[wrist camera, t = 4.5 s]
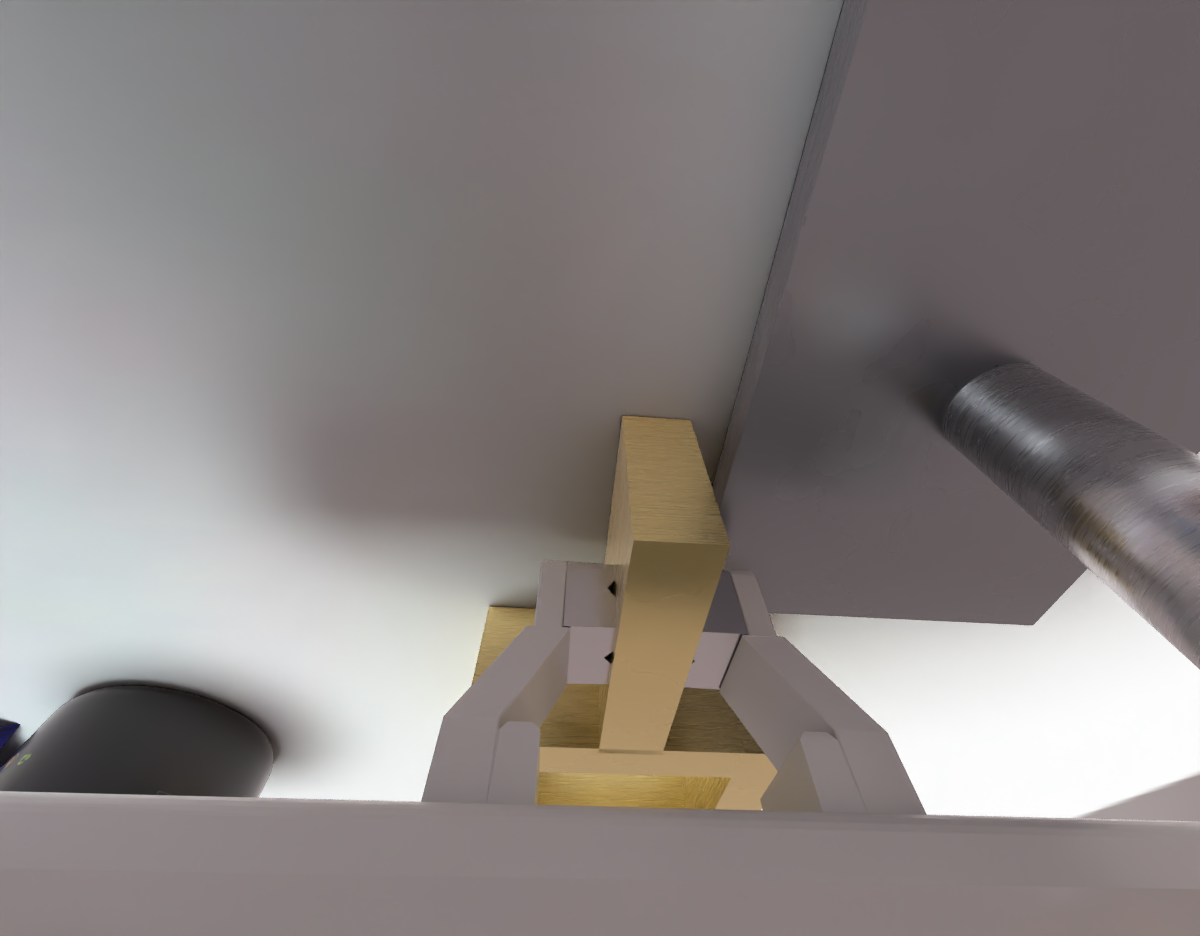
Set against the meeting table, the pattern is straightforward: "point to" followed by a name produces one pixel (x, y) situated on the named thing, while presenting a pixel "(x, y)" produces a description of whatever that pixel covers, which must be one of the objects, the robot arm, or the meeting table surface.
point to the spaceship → (7, 733)
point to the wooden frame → (649, 649)
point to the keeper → (983, 322)
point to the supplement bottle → (142, 747)
